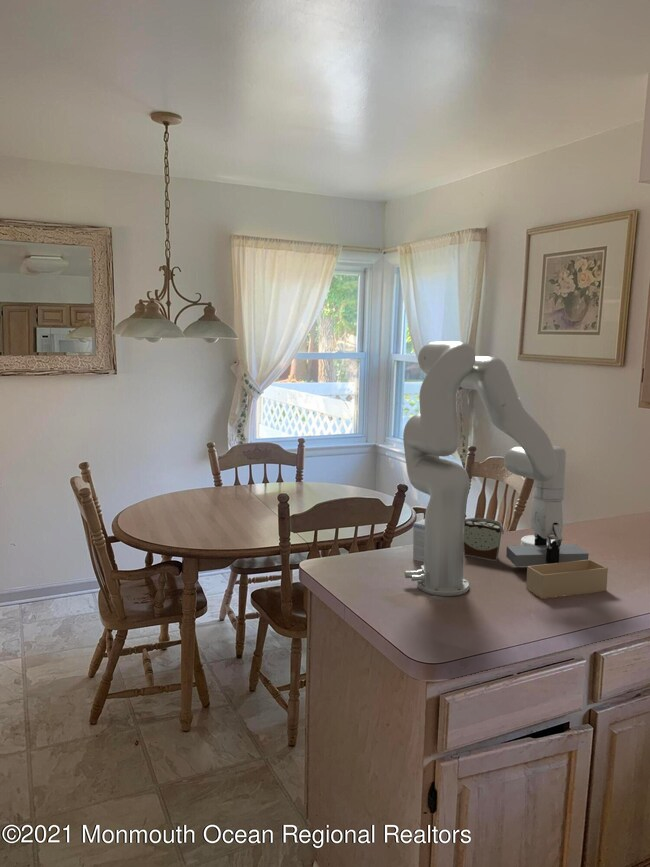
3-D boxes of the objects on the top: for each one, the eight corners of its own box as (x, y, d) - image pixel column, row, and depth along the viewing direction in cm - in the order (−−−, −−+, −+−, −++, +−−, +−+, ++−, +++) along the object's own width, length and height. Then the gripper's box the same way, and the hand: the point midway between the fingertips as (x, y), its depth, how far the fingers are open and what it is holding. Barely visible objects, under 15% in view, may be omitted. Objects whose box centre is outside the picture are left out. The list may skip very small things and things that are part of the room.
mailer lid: (515, 566, 164) (516, 555, 164) (506, 556, 171) (506, 546, 171) (588, 564, 165) (588, 553, 164) (575, 554, 172) (576, 544, 172)
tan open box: (541, 599, 149) (542, 575, 148) (526, 589, 155) (527, 566, 154) (606, 591, 154) (607, 568, 153) (588, 582, 160) (590, 559, 159)
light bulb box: (431, 550, 184) (432, 514, 183) (452, 554, 180) (452, 518, 179) (411, 559, 176) (412, 522, 175) (433, 565, 172) (433, 526, 170)
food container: (508, 555, 179) (509, 521, 178) (501, 562, 174) (503, 526, 172) (466, 548, 186) (467, 515, 184) (459, 554, 180) (460, 520, 179)
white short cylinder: (513, 548, 186) (513, 537, 185) (539, 544, 190) (539, 532, 189) (537, 559, 177) (538, 546, 176) (564, 554, 181) (565, 542, 180)
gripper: (522, 485, 174) (520, 547, 176) (547, 501, 157) (545, 569, 159) (549, 485, 174) (547, 546, 177) (577, 500, 157) (574, 568, 160)
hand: (546, 557), depth 168 cm, fingers closed on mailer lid, 7 cm apart
